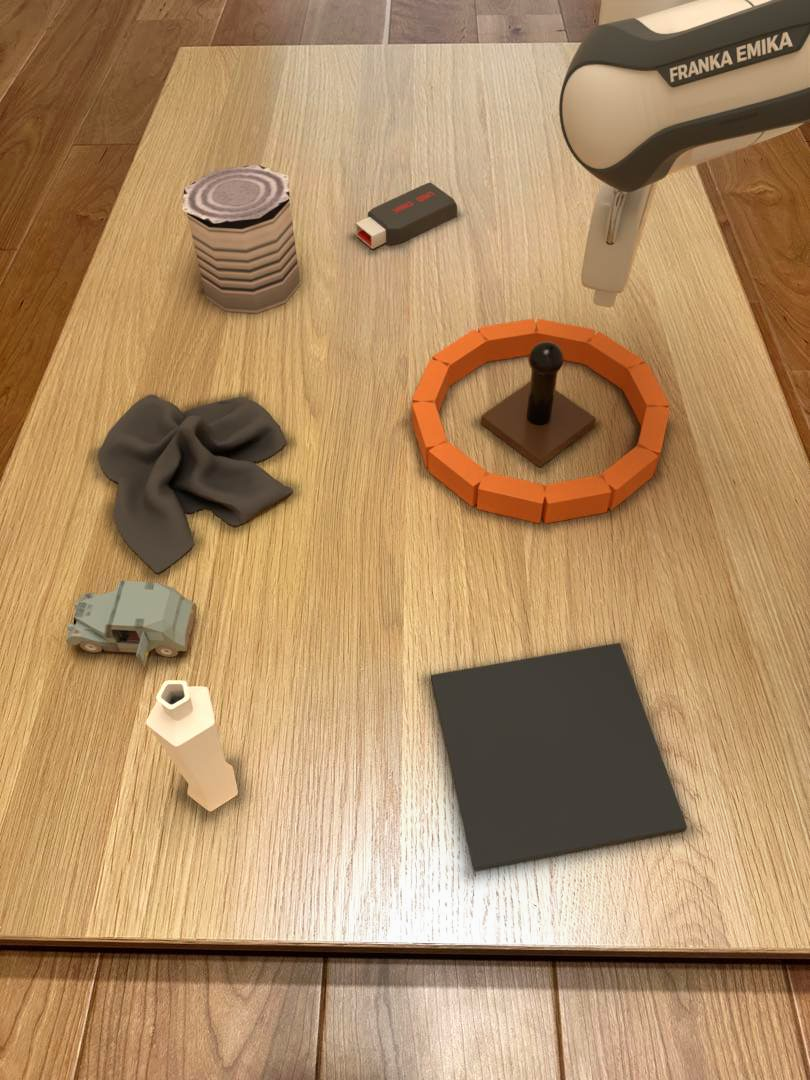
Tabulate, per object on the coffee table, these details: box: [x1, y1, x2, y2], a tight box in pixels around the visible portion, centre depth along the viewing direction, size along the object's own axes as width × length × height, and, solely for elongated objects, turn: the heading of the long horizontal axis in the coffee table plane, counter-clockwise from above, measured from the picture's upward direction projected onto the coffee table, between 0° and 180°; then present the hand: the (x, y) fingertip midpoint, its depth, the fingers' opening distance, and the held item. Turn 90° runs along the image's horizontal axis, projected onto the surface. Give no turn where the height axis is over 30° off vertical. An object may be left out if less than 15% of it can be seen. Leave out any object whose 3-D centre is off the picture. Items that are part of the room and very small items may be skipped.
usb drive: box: [354, 182, 458, 249], centre depth 116 cm, size 5×12×3 cm, turn 127°
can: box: [182, 164, 301, 315], centre depth 107 cm, size 11×11×12 cm
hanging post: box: [480, 341, 597, 468], centre depth 93 cm, size 8×8×10 cm
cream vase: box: [145, 679, 239, 812], centre depth 69 cm, size 5×4×15 cm
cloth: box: [97, 394, 293, 574], centre depth 92 cm, size 22×19×6 cm
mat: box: [430, 642, 688, 872], centre depth 76 cm, size 16×16×1 cm
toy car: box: [65, 580, 198, 668], centre depth 81 cm, size 6×10×5 cm, turn 86°
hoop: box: [411, 318, 671, 524], centre depth 96 cm, size 24×24×3 cm
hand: (615, 268), depth 87 cm, fingers open, 8 cm apart
